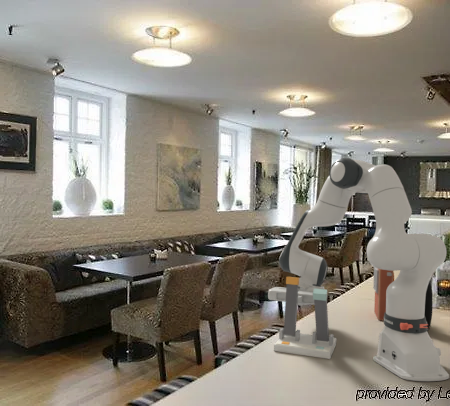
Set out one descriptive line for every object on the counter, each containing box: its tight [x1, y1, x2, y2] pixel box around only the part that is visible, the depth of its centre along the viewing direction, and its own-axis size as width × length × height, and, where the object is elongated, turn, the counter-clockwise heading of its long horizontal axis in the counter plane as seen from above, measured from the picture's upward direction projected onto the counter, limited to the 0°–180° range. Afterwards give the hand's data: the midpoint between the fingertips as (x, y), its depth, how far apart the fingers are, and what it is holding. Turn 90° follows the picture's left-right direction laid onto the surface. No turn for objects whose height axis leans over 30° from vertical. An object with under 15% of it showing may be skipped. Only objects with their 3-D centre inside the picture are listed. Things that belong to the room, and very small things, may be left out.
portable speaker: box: [424, 278, 434, 332], centre depth 170 cm, size 9×9×20 cm
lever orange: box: [283, 276, 300, 337], centre depth 153 cm, size 2×4×20 cm, turn 69°
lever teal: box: [313, 288, 330, 342], centre depth 144 cm, size 2×4×20 cm, turn 69°
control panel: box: [372, 267, 395, 322], centre depth 188 cm, size 21×7×15 cm
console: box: [273, 327, 337, 360], centre depth 150 cm, size 15×18×5 cm
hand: (292, 300), depth 154 cm, fingers closed, pressing on lever orange
